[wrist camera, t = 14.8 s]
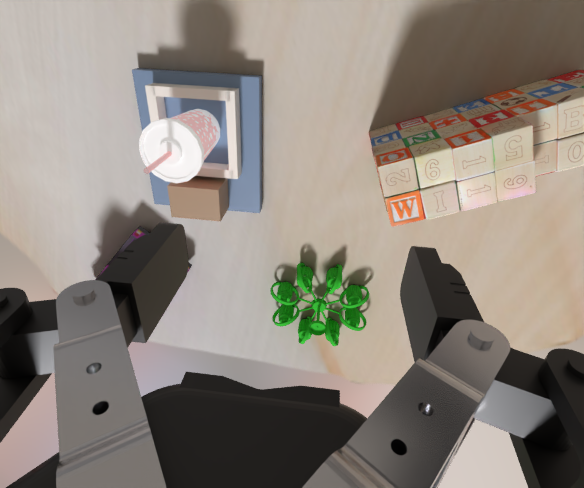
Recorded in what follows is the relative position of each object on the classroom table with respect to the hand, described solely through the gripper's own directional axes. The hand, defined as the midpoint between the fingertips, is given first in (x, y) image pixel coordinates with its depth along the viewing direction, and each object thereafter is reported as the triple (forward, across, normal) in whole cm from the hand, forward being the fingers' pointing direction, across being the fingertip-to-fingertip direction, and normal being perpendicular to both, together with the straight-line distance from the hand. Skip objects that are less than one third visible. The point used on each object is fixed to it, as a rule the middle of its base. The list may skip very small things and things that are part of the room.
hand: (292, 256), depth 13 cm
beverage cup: (+31, +14, +4) cm, 34 cm away
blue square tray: (+32, +14, +6) cm, 36 cm away
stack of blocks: (+32, -16, +2) cm, 36 cm away
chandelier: (+33, -2, +28) cm, 43 cm away
